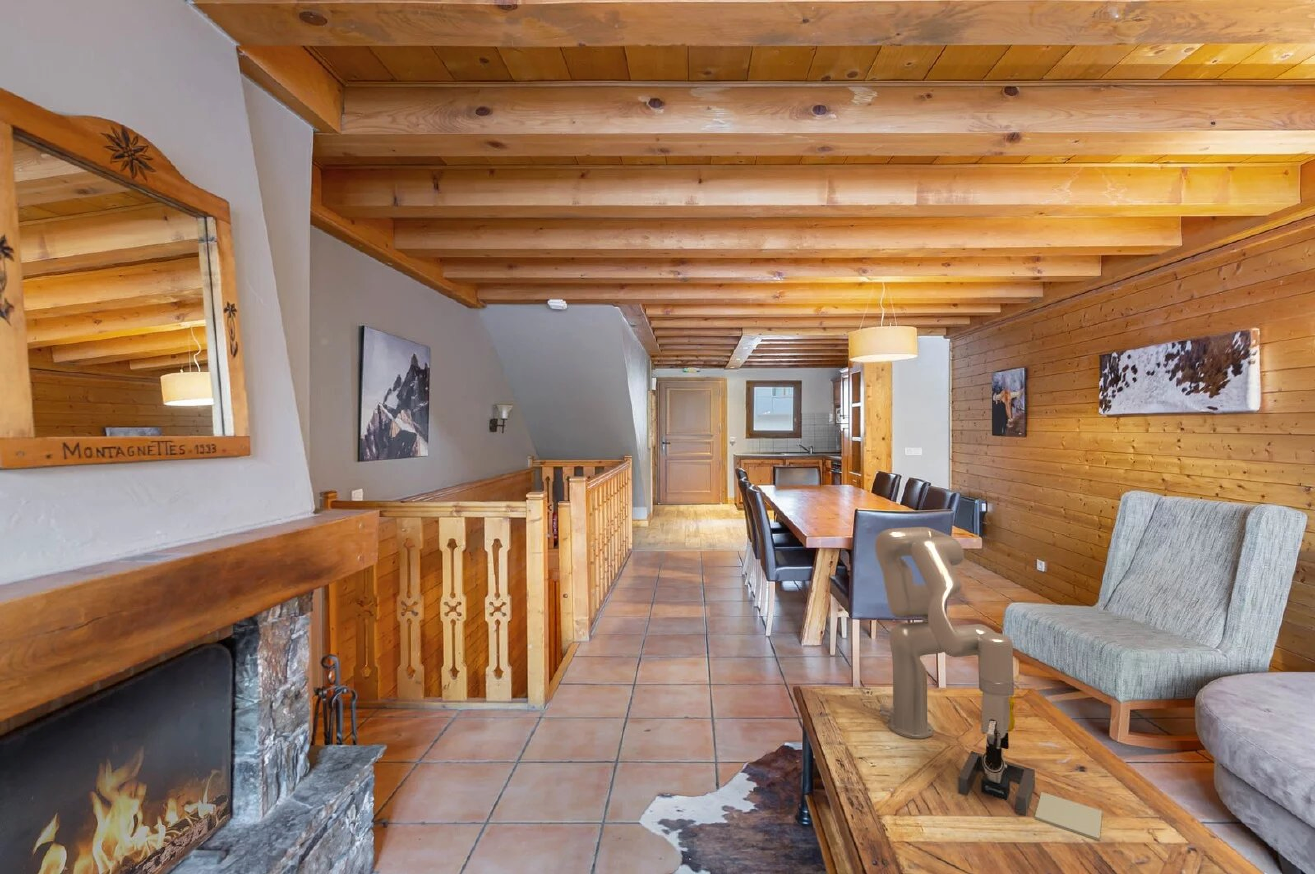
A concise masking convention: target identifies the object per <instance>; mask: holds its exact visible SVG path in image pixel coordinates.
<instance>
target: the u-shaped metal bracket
mask: <svg viewBox="0 0 1315 874" xmlns="http://www.w3.org/2000/svg"><path fill="white" fill-rule="evenodd" d="M983 755H984V754H983V753H980V752H976V751H973V750H971V751H970V753H969V755H968V757H967V759H966V761H965V763H964V765H963V766H962V768H961V770H960V773H959V774H958V777H957V793H958V794H959V795H963V796H966V797H968V796H969V793H970V791H971V788H972V786H973V784H974V783H975V780H976V778H977V775H978V773H979V772H981V773H984V772H985V769H984V766H983V764H982V757H983ZM1004 763H1005V764H1006V765H1007V768H1004V770H1003V772H1002V774H1001V777H1003V778H1006V779H1009V780H1010V782H1013V783H1016V784H1019V786H1018V788H1017V792H1016V794H1015V813H1016V814H1018V813H1019V815H1021V816H1025V817H1026V816H1027V814H1028V810H1029V806H1030V803H1031V799H1032V797H1033V792H1034V789H1035V786H1036V781H1035V780H1036V776H1035V773H1036V772H1035V769H1034V768H1031V767H1030V768H1029V767H1026V766H1023V765H1021V764H1017V763H1013V762H1009V761H1007V760H1004Z"/></svg>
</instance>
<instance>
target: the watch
mask: <svg viewBox="0 0 1315 874" xmlns="http://www.w3.org/2000/svg"><path fill="white" fill-rule="evenodd" d="M1001 750H1002V765H1001V766H999V765H995V764H992V763H988V762H987V761H986V751H985V753H984V754H983V757H982V764H983V766H984V769H985V772H983V775H982V777H981V779H980V786H981V787H980V790H981V793H984V794H986V795H988V794H989V796H991V795H993V796H992V797H995V798H998V799H1000V800H1003V799H1004V801H1006V800H1007V801H1008V799H1009V795H1010V792H1011V791H1010V789H1011V787H1010V785H1011V783H1010V782H1011V781H1010V780H1009V779H1006V778H1003V777H1001V774H1002V772H1003V770H1004V768H1007V765H1006V764H1005V763H1004V761H1005V760H1004V755H1003V754H1004V753H1003V752H1004V751H1003V748H1001Z"/></svg>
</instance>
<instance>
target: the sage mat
mask: <svg viewBox="0 0 1315 874" xmlns="http://www.w3.org/2000/svg"><path fill="white" fill-rule="evenodd" d="M1102 817H1103V810H1100V809H1097V808H1094V807H1090V806H1088V805H1084V804H1082V803H1079V802H1075V801H1072V800H1069V799H1066V798H1064V797H1063V798H1062V797H1059V796H1056V795H1052V794H1049V793H1046V792H1044V791H1043V792H1042V791H1041V792H1040V797H1039V800H1038V803H1037V808H1036V811H1035V815H1034V819H1035V820H1036V821H1039V822H1043V823H1045V824H1048V825H1051V826H1053V827H1054V826H1055V827H1056V828H1060V829H1062V830H1065V831H1068V832H1071V833H1073V834H1074V833H1075V834H1077V835H1081V836H1084V837H1087V838H1090V839H1093V840H1096V841H1098V842H1100V840H1101V829H1102Z"/></svg>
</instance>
